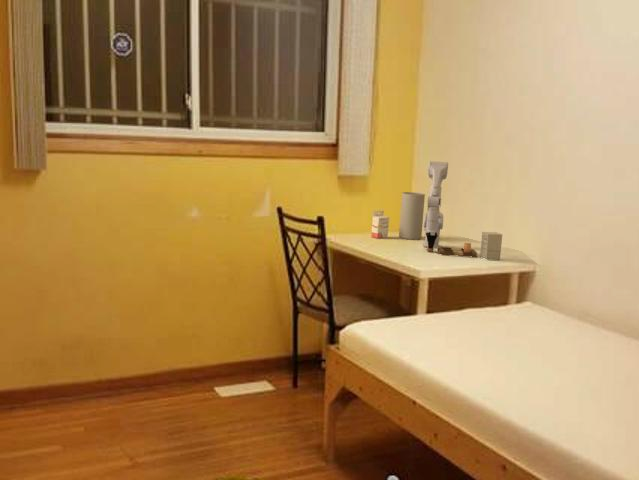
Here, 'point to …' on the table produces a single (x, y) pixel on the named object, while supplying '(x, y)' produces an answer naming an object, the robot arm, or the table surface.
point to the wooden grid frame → (456, 251)
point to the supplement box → (491, 245)
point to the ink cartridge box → (379, 225)
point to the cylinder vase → (411, 215)
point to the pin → (467, 247)
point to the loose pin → (429, 248)
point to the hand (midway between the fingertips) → (430, 247)
